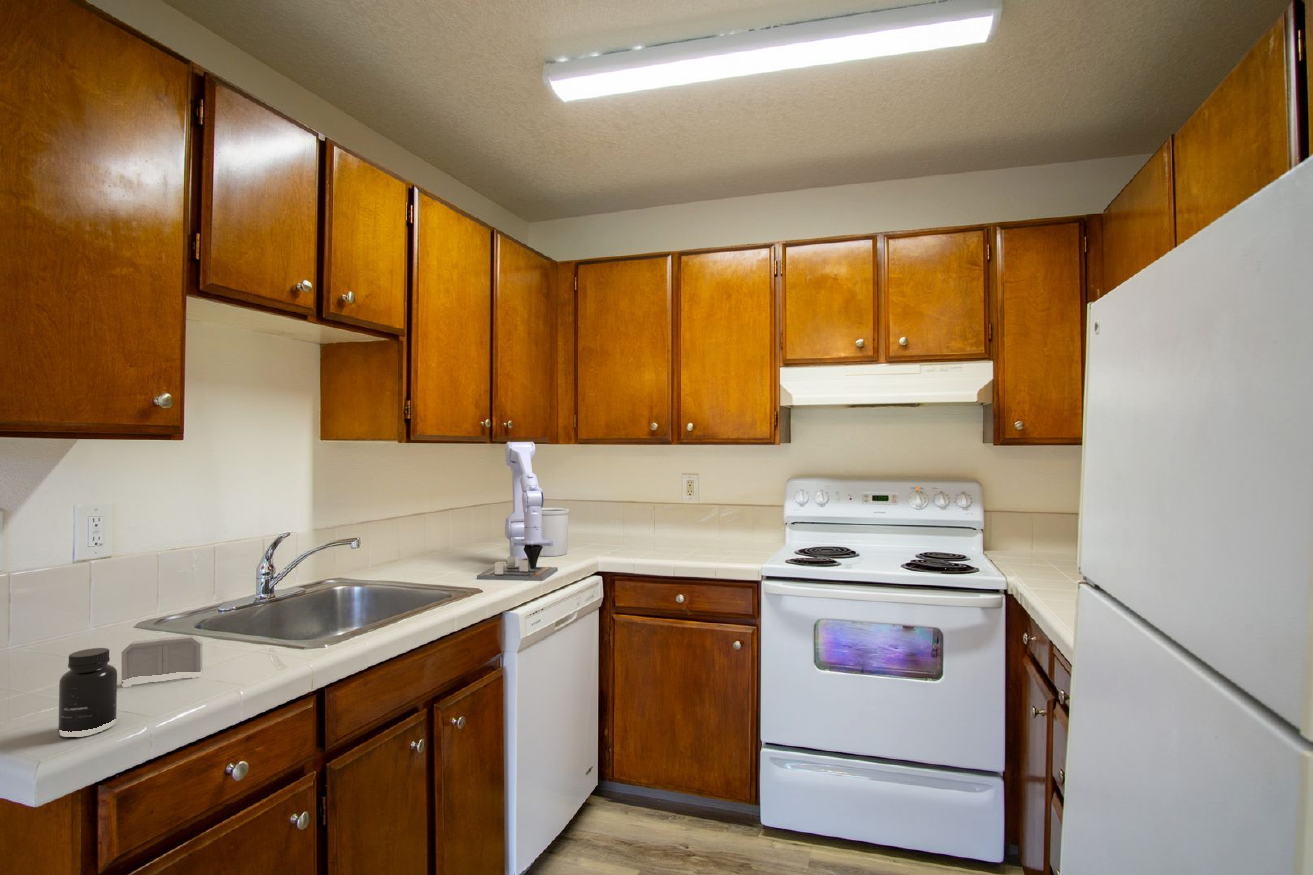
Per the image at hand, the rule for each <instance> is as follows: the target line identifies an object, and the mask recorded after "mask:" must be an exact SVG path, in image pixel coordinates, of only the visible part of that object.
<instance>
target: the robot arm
mask: <svg viewBox="0 0 1313 875" xmlns="http://www.w3.org/2000/svg"><path fill="white" fill-rule="evenodd" d="M504 452H505V453H504V455H505V456H504V457H505V464H506V466H509V467H510V469H511V482H512V483H511V486H512V487H511V488H512V490H511V492H512V512H511V513H510V514H509V515H507V517H506V518H505V525H504V535H505V538H506V539H507V540H509V556H518V566H519V560H521V559H524V558H528V560H529V564H530V568H531V569H534V568H536V567H537V566H538V565H537V563H538V559H539V557H540V556H539V554H540V552H541V550H542V548H543V546H551V547H554V546H555V540H547V539H542V508H544V503H545V496H544V495H545V494H544V491H543V490H542V488H541V487H540V485H539V480H538V477H537V475H536V474H535V473H533V466H532V462H533V461H534V458H535V456H536V444H535V443H534V441H507V442H506V443H505V449H504ZM506 566H507V563H506Z"/></svg>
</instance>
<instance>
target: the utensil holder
mask: <svg viewBox="0 0 1313 875" xmlns="http://www.w3.org/2000/svg"><path fill="white" fill-rule="evenodd" d="M541 508H542V539H547V540H555V546H554V547H551V546H543V548H542V550H541V552H540V554H539V557H559V556H565V555H567V554H568V546H569V545H568V541H569V514H570V509H569V508H565V507H564V508H563V507H541Z"/></svg>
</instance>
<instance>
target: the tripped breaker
mask: <svg viewBox="0 0 1313 875" xmlns="http://www.w3.org/2000/svg"><path fill="white" fill-rule="evenodd" d="M519 570H520V571H529V570H531V568H530V564H529V560H528V558H524V559H521V560H519Z"/></svg>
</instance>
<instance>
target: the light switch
mask: <svg viewBox="0 0 1313 875" xmlns="http://www.w3.org/2000/svg"><path fill="white" fill-rule="evenodd" d="M201 670H202V671H203V640H202V639H200V638H198V637H197V635H195V634H193V635H184V636H175V637H163V638H155V639H146V640H145V639H143V640H135V641H132V642H131V643H130V644H128V645H127V646H126V648H124V649H123V650H122V651H121V681H122V680H126V679H129V678H132V677H138V676H152V675H162V674H169V673H176V672H201Z"/></svg>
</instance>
